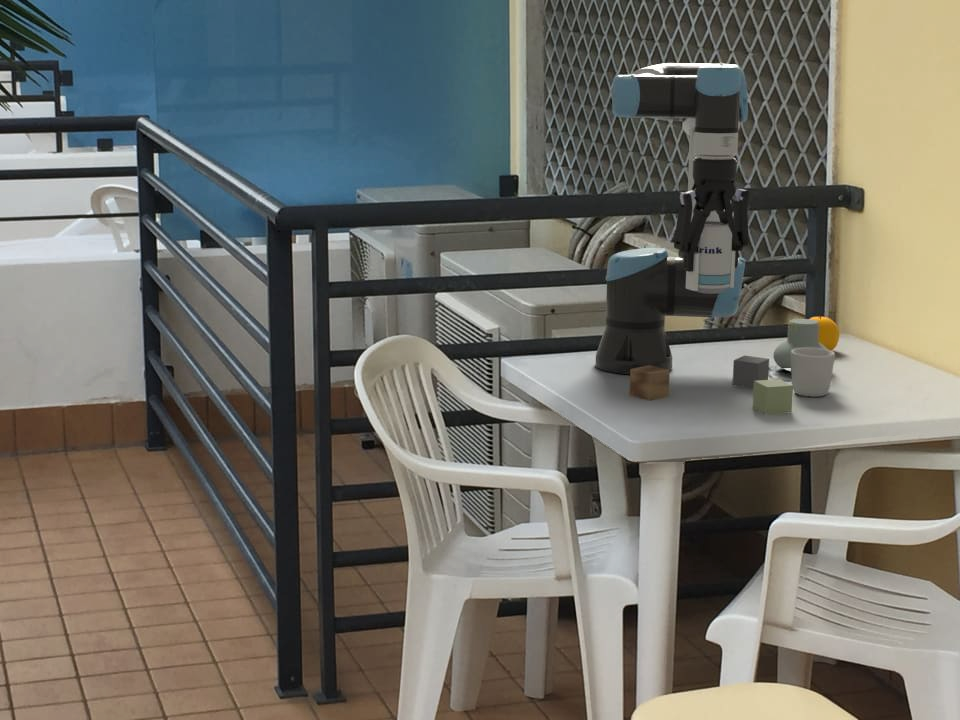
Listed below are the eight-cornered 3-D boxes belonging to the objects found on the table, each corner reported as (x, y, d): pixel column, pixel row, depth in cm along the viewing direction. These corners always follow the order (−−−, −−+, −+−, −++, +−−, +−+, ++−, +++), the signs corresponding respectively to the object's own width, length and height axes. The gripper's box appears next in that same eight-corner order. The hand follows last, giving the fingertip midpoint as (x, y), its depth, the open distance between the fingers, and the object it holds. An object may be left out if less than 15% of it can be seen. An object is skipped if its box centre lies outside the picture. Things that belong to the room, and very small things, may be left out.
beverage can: (685, 292, 257) (688, 224, 255) (694, 286, 264) (697, 219, 261) (725, 295, 255) (728, 226, 252) (733, 289, 261) (736, 222, 259)
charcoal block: (732, 386, 277) (733, 360, 276) (743, 381, 281) (744, 355, 280) (757, 389, 274) (758, 363, 273) (767, 384, 279) (769, 358, 277)
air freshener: (787, 377, 284) (790, 327, 281) (765, 368, 291) (768, 319, 289) (836, 374, 287) (839, 323, 285) (814, 365, 295) (816, 316, 293)
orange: (817, 357, 302) (819, 321, 300) (791, 349, 308) (793, 314, 307) (846, 353, 306) (848, 317, 304) (819, 345, 312) (822, 311, 311)
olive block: (752, 408, 261) (753, 380, 260) (777, 406, 263) (779, 379, 262) (765, 415, 257) (767, 387, 255) (791, 413, 258) (793, 385, 257)
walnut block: (629, 395, 269) (630, 369, 268) (648, 391, 273) (649, 365, 271) (650, 400, 266) (650, 374, 265) (668, 396, 269) (669, 369, 268)
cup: (807, 384, 279) (810, 342, 277) (846, 390, 274) (849, 348, 272) (780, 394, 271) (782, 352, 269) (820, 401, 266) (822, 358, 264)
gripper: (679, 160, 247) (674, 295, 252) (775, 156, 255) (768, 287, 260) (654, 157, 253) (650, 288, 258) (748, 153, 262) (742, 280, 267)
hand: (709, 287), depth 259 cm, fingers closed on beverage can, 7 cm apart
